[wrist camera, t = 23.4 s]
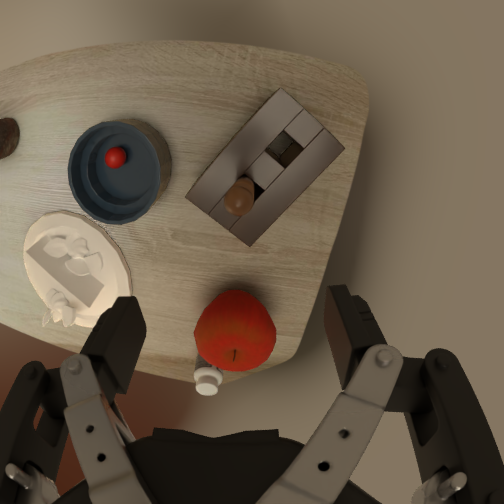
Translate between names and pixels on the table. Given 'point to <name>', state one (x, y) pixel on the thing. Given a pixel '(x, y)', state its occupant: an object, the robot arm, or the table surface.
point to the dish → (74, 268)
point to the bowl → (119, 171)
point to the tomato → (115, 157)
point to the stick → (240, 196)
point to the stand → (266, 166)
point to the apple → (235, 332)
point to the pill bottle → (207, 376)
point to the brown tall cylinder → (8, 136)
